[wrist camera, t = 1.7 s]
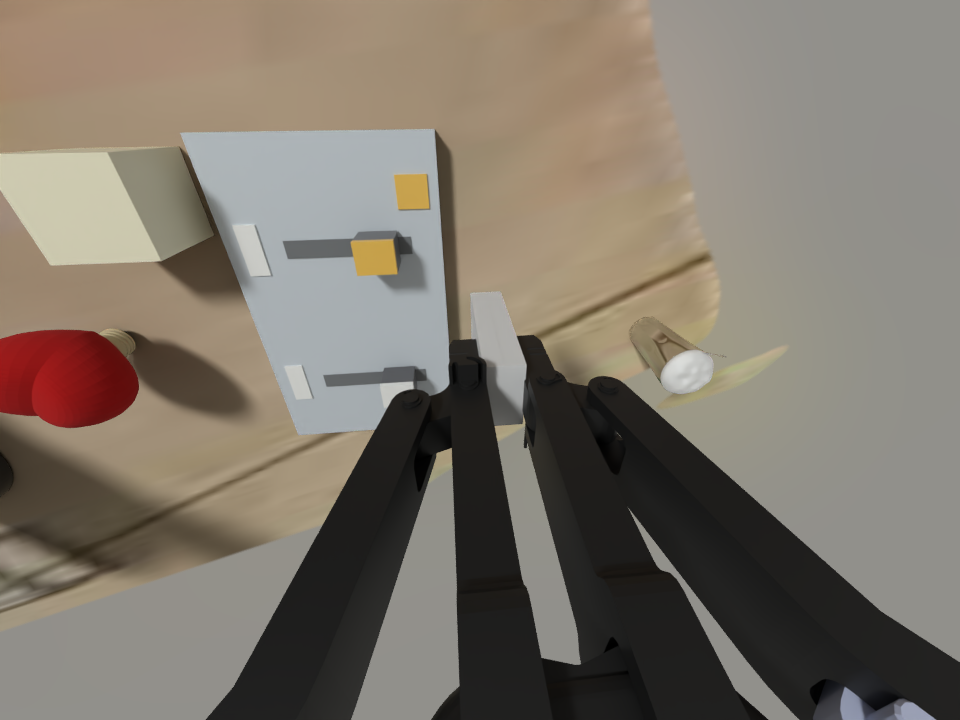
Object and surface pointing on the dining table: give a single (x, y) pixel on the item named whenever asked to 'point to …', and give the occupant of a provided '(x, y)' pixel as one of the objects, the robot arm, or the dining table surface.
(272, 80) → the dining table surface
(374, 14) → the dining table surface
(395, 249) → the breaker
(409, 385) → the breaker
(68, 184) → the cap
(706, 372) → the milkshake
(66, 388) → the light bulb
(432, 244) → the panel
